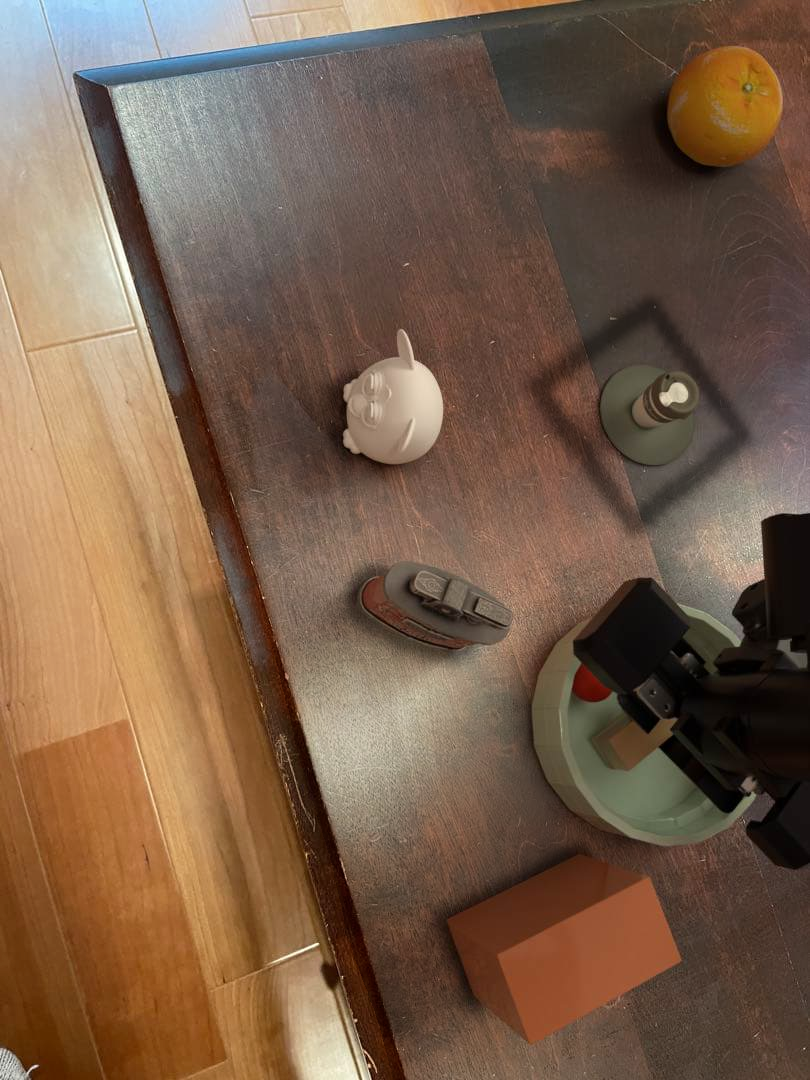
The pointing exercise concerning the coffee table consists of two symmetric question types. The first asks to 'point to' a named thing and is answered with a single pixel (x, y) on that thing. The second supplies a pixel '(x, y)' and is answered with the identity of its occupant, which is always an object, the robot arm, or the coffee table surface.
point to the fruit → (725, 106)
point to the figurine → (393, 408)
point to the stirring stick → (630, 742)
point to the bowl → (615, 795)
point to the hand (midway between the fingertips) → (643, 721)
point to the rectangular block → (563, 944)
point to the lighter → (434, 608)
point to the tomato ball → (589, 686)
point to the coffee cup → (649, 413)
